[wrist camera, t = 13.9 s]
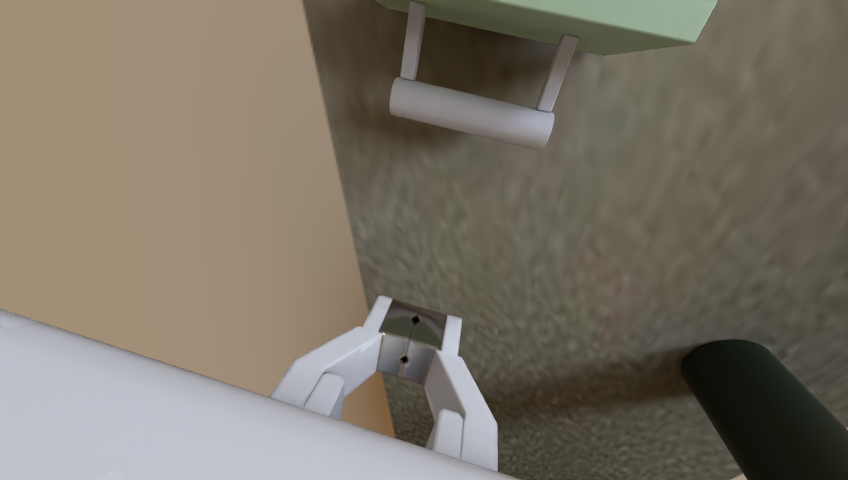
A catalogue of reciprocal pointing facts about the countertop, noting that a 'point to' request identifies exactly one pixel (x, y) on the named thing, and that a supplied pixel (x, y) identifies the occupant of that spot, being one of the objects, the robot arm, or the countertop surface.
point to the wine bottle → (766, 414)
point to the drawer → (540, 21)
